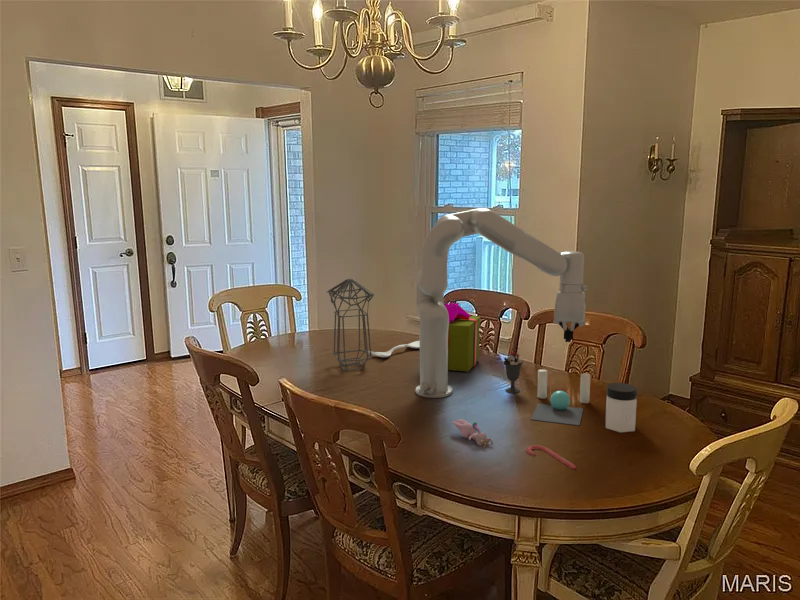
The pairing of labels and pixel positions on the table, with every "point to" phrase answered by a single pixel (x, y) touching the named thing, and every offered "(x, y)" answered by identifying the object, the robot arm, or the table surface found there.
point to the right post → (584, 388)
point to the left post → (542, 384)
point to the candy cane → (561, 459)
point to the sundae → (513, 370)
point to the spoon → (386, 354)
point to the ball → (560, 400)
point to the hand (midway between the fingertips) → (568, 341)
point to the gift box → (462, 338)
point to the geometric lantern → (368, 295)
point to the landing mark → (557, 414)
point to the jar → (621, 407)
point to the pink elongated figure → (472, 432)
